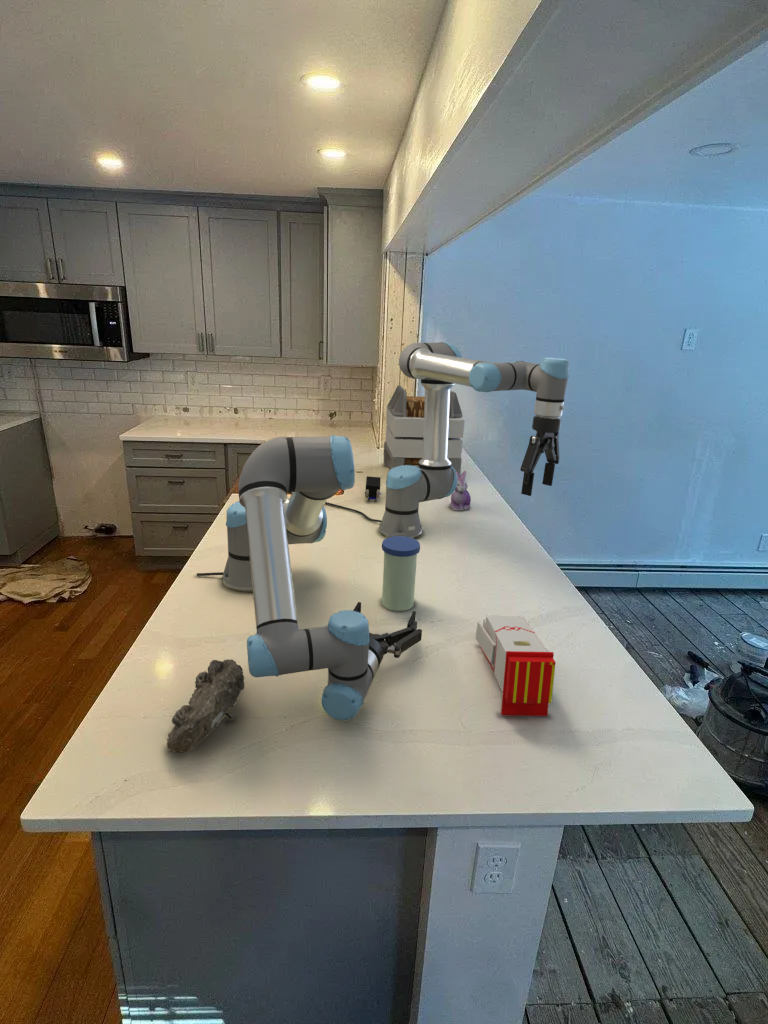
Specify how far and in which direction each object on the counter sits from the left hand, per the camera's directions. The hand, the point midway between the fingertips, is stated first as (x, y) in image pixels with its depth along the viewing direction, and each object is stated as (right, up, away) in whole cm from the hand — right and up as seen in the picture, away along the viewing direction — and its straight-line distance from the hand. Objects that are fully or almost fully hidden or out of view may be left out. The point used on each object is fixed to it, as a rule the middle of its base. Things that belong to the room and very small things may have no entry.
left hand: (386, 611), depth 137 cm
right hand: (+43, +31, +26) cm, 59 cm away
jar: (+3, -1, +16) cm, 16 cm away
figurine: (+30, +26, +92) cm, 100 cm away
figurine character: (-5, +30, +99) cm, 103 cm away
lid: (+4, +16, +10) cm, 19 cm away
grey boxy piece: (+17, +43, +138) cm, 145 cm away
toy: (+27, -12, -13) cm, 32 cm away
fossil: (-33, -15, -29) cm, 47 cm away
